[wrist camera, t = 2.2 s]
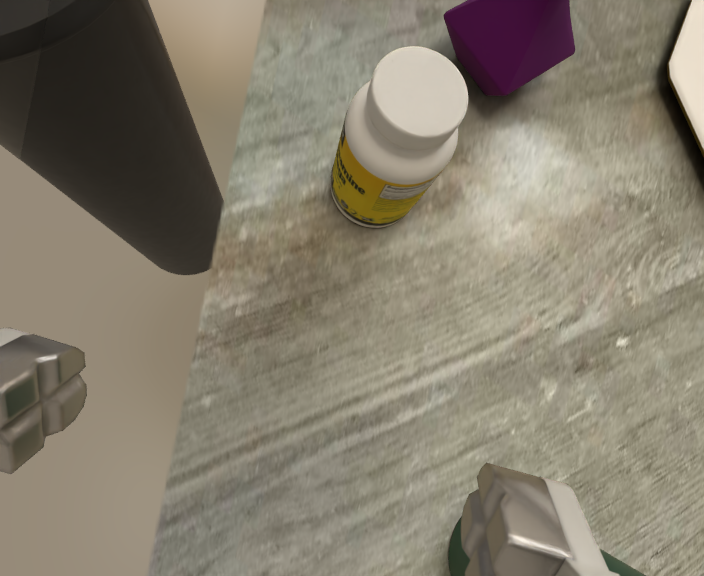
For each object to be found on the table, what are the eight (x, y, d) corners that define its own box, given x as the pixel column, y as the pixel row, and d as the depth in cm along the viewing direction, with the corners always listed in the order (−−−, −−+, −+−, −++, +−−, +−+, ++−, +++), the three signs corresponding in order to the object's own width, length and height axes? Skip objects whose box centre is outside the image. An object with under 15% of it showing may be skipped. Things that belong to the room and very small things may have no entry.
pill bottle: (322, 154, 29) (343, 31, 18) (403, 146, 30) (467, 27, 20) (337, 236, 28) (369, 157, 18) (420, 225, 29) (498, 145, 19)
